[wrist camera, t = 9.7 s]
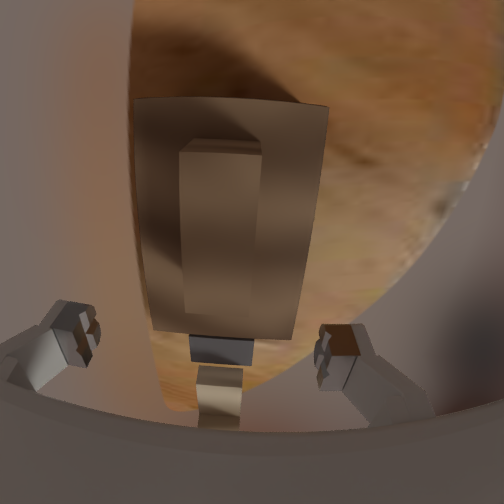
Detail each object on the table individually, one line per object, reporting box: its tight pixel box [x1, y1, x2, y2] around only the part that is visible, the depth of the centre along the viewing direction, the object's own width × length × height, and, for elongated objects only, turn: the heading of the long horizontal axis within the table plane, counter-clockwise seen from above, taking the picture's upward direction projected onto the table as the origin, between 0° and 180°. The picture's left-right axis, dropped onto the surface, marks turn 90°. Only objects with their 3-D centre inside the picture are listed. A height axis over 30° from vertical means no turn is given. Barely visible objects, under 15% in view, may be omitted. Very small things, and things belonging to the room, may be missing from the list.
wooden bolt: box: [196, 365, 243, 431], centre depth 25 cm, size 8×4×5 cm, turn 176°
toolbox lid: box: [134, 97, 329, 340], centre depth 19 cm, size 17×11×6 cm, turn 176°
